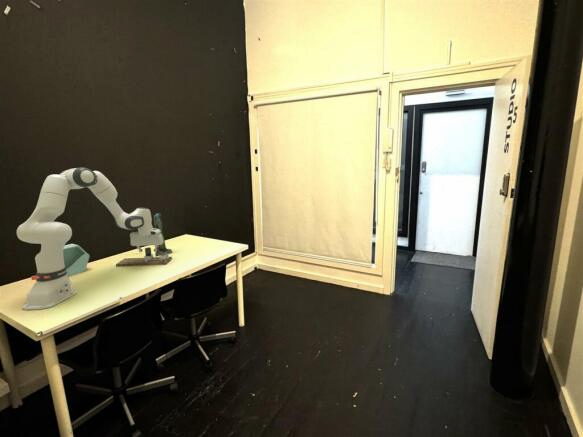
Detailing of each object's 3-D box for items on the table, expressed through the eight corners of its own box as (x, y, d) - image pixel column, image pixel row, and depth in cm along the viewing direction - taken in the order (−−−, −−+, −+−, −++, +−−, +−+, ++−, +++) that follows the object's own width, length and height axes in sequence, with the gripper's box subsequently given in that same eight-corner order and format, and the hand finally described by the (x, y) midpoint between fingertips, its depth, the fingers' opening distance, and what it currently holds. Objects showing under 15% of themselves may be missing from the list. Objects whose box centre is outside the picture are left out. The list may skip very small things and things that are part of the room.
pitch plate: (166, 264, 200) (165, 255, 198) (115, 266, 198) (114, 257, 197) (171, 258, 211) (171, 250, 210) (124, 260, 209) (123, 252, 208)
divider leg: (149, 261, 200) (147, 250, 198) (143, 262, 199) (141, 250, 198) (153, 258, 207) (152, 246, 205) (147, 258, 207) (146, 247, 205)
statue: (172, 253, 224) (168, 213, 218) (156, 256, 218) (152, 215, 212) (170, 250, 229) (166, 212, 223) (154, 253, 223) (150, 213, 217)
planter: (73, 282, 185) (46, 260, 172) (67, 279, 189) (40, 258, 176) (95, 260, 195) (71, 239, 182) (89, 258, 199) (65, 237, 186)
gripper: (127, 233, 197) (130, 253, 200) (159, 232, 198) (161, 252, 201) (131, 231, 203) (134, 250, 206) (162, 229, 204) (165, 249, 207)
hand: (148, 251), depth 203 cm, fingers open, 8 cm apart
